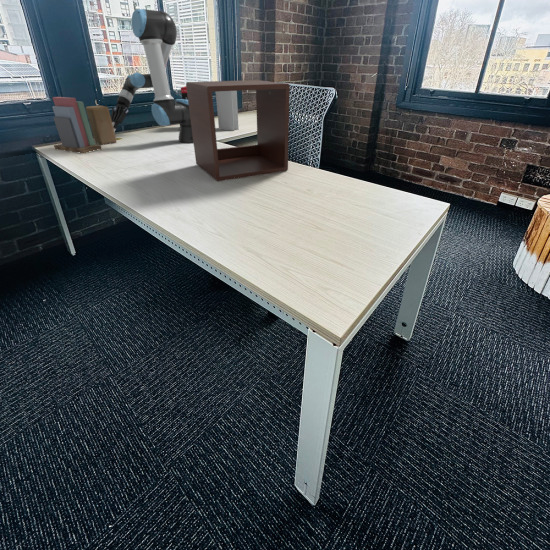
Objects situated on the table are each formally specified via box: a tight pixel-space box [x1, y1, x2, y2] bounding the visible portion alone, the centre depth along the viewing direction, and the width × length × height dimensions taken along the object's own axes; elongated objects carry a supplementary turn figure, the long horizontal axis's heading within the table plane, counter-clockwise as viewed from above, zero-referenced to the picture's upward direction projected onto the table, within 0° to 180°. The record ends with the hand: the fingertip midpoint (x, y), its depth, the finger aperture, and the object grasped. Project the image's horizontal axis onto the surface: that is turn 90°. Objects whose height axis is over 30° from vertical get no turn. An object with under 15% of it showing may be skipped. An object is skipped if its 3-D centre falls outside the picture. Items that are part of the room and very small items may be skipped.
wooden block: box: [85, 105, 117, 146], centre depth 198 cm, size 10×10×20 cm
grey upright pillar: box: [215, 91, 240, 132], centre depth 234 cm, size 14×6×30 cm, turn 58°
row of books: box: [52, 96, 96, 148], centre depth 183 cm, size 15×10×24 cm
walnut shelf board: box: [53, 143, 102, 154], centre depth 189 cm, size 24×12×2 cm, turn 64°
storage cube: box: [185, 79, 291, 182], centre depth 148 cm, size 35×29×35 cm
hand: (111, 132), depth 208 cm, fingers closed
